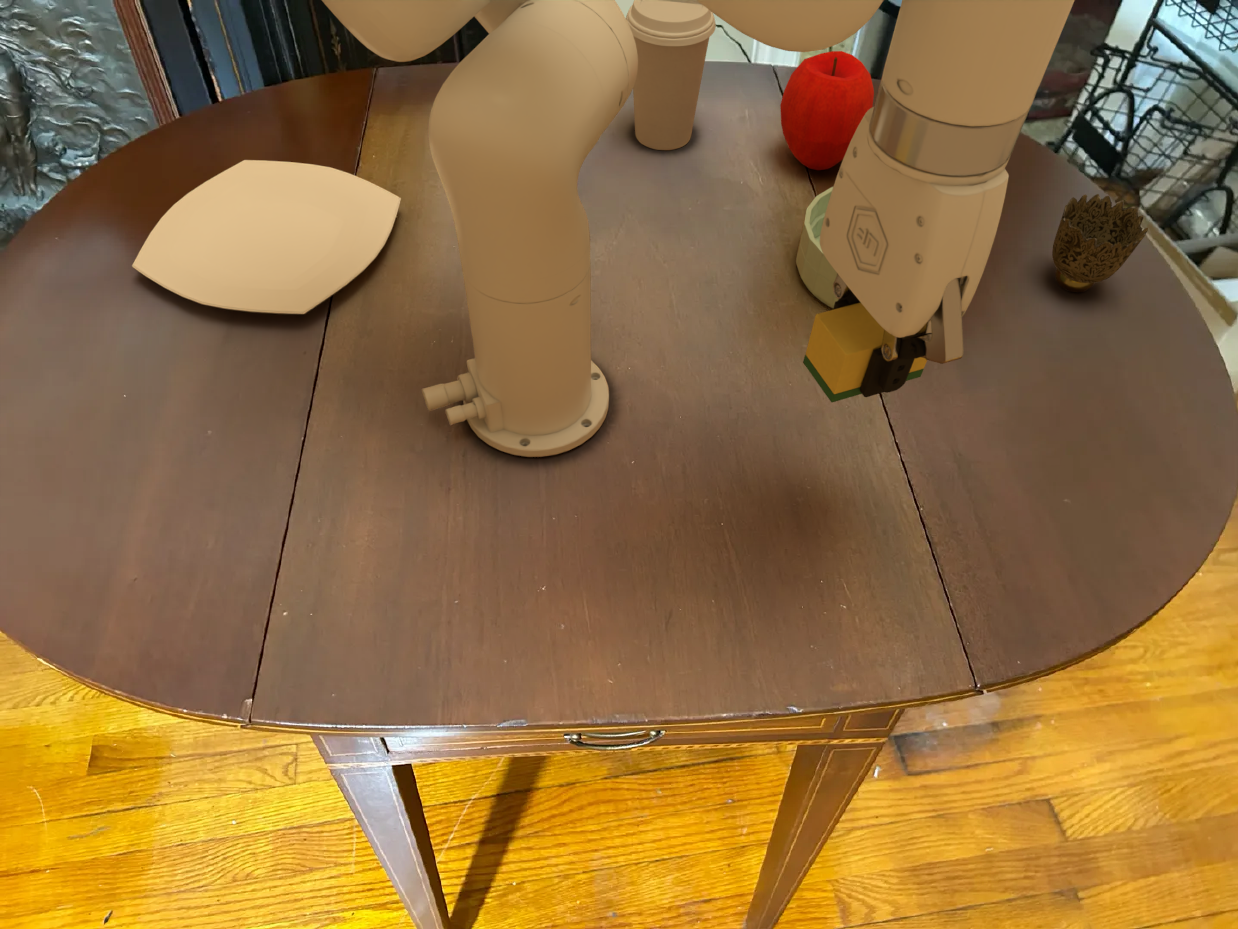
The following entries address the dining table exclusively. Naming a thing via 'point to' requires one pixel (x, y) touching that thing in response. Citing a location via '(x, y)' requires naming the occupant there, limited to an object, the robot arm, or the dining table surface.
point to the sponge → (846, 350)
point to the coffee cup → (668, 68)
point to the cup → (1094, 241)
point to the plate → (269, 237)
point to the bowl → (816, 252)
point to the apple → (825, 107)
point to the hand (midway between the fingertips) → (863, 363)
